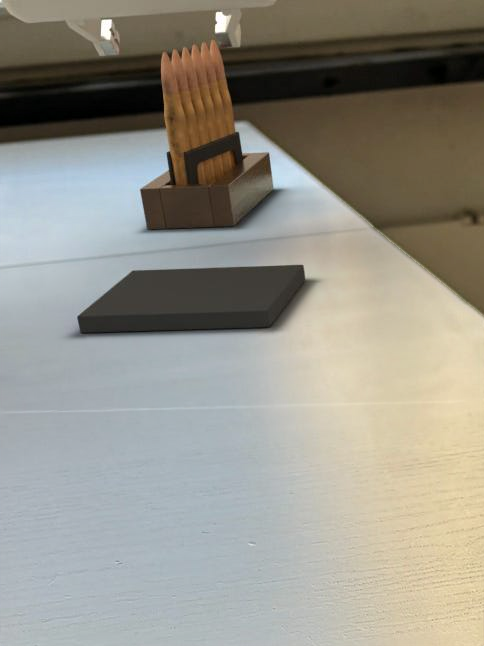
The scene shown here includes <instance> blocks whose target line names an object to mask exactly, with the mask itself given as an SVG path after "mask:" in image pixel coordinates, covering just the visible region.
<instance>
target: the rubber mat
mask: <svg viewBox="0 0 484 646" xmlns="http://www.w3.org/2000/svg"><path fill="white" fill-rule="evenodd" d="M305 281H306V273H305V265H304V264H282V265H278V264H277V265H254V266H253V265H252V266H249V265H248V266H226V267H225V266H224V267H223V266H222V267H221V266H220V267H194V268H192V267H191V268H165V269H137V270H135V269H134V270H131V272H129V273H128V274H127V275H125V276H124V277H123V278H121V279H120V280H119V281H118V282H117V283H116V284H115V285H113V286H112V287H111V288H109V289H108V290H107V291H106V292H105V293H104V294H102V295H101V296H100V297H99V298H98V299H96V300H95V301H94V302H93V303H92V304H90V305H89V306H88V307H86V309H85V310H83V311H82V312H80V313H79V314H78V315H77V316H76V318H77V319H76V320H77V323H78V327H79V328H78V329H79V332H80V334H86V333H89V334H90V333H122V332H123V333H124V332H125V333H126V332H153V331H154V332H155V331H184V330H185V331H187V330H188V331H189V330H217V329H218V330H219V329H220V330H221V329H222V330H223V329H224V330H225V329H253V328H255V329H257V328H270V327H271V326H272V324H273V323H274V322H275V320H276V319H277V318H278V317H279V315H280V314H281V312H282V311H283V310H284V309H285V307H286V306H287V304H288V303H289V302H290V300H291V299H292V298H293V297H294V295H295V294H296V293H297V292H298V290H299V289H300V287H301V286H302V285H303V283H304V282H305Z"/></svg>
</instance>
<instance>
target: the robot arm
mask: <svg viewBox="0 0 484 646" xmlns="http://www.w3.org/2000/svg"><path fill="white" fill-rule="evenodd" d="M0 1H1V3H2V5H3V6H4V8H5V10H6V11H7V12H8V13H9V14H10V15H11V16H13V17H14V18H16V19H18V20H20V22H21V21H22V22H23V23H25V24H34V23H35V24H37V23H49V22H50V23H51V22H63V21H64V22H65V23H66V25H67V27H68V28H69V29H71V30H73V31H74V32H75V33H77V34H79V35H80V36H81V37H83V38H85V40H87V41H89V42H92V44H93V46H94V48H95V50H96V52H97V54H98V56H99V57H106V56H119V55H120V51H121V49H120V48H119V47H120V45H121V36H120V33H119V31H118V29H116V25H115V23H114V21H113V19H112V18H123V17H137V16H150V15H151V16H152V15H165V14H179V13H195V12H207V11H208V12H209V11H216V12H215V22H216V24H214V35H215V37H216V41H218V45H219V47H220V48H221V49H225V48H226V49H227V48H228V49H229V48H240V47H241V43H242V42H241V41H242V29H241V24H240V21H241V18H242V15H243V9H251V8H266V7H267V8H268V7H272V6H274V5H275V4H276V2H278V0H0ZM107 18H111V19H107Z"/></svg>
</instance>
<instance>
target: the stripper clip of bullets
mask: <svg viewBox="0 0 484 646" xmlns="http://www.w3.org/2000/svg"><path fill="white" fill-rule="evenodd" d="M160 66H161V67H160V74H161V75H160V76H161V77H160V78H161V86H162V87H161V88H162V95H163V96H162V97H163V104H164V105H163V107H164V108H163V110H164V113H163V114H164V115H163V116H164V123H165V129H166V130H165V131H166V136H167V143H168V149H169V151H166V159H167V160H166V161H167V166H168V167H167V168H168V170H169V174H170V181H171V185H190V184H212V183H214V182H215V181H216V180H218V179H219V178H220V177H222V176H223V175H224V174H225V173H227V172H228V171H229V170H231V169H232V168H233V167H234V166H236V165H237V164H238V163H240V162H241V161H242V160H243V155H242V153H243V149H242V142H241V135H240V132H239V131H237V130H236V126H235V125H236V123H235V117H234V111H233V104H232V98H231V94H230V91H229V88H228V82H227V78H226V73H225V66H224V62H223V58H222V54H221V51H220V49H219V46H218V44H217V42H216V41H215V39H211V41H210V46H209V47H208V45H207V43H206V41H202V43H201V47H200V49H199V47H198V46H197V44H196V43H193V45H192V49H191V53H190V51H189V49H188V48H187V46H183V48H182V52H181V56H180V54H179V52H178V50H177V49H176V48H174V49H173V50H172V53H171V58H170V57H169V55H168V53H167V52H166V51H163V52H162V55H161V62H160Z"/></svg>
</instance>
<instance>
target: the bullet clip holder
mask: <svg viewBox="0 0 484 646" xmlns="http://www.w3.org/2000/svg"><path fill="white" fill-rule="evenodd" d="M242 155H243V160H242V161H241V162H240V163H238V164H237V165H236V166H234V167H233V168H232V169H231V170H229V171H228V172H227V173H225V174H224V175H223V176H222V177H220V178H219V179H218V180H216V181H215V182H214V183H212V184H190V185H171V181H170V174H169V169H168V170H167V171H165V172H164V173H162V174H161V175H158V177H156V178H154V179H153V180H152V181H150V182H149V183H147V184H146V185H143V187H141V188H140V189H139V191H140V198H141V203H142V208H143V214H144V220H145V225H146V229H147V230H167V229H168V230H172V229H197V228H225V227H227V228H228V227H234V226H236V225H237V224H238V223H239V222H240V221H241V220H242V219H244V218H245V216H247V215H248V214H249V213H250V212H251V211H252V210H253V209H254V208H255V207H256V206H258V204H259V203H260V202H261V201H263V200H264V199H265V198H266V197H267V196H268V195H269V194H270V193H271V192H272V191H273V190H274V188H275V187H274V180H273V172H272V165H271V156H270V152H268V151H266V152H245V153H243V152H242Z"/></svg>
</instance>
